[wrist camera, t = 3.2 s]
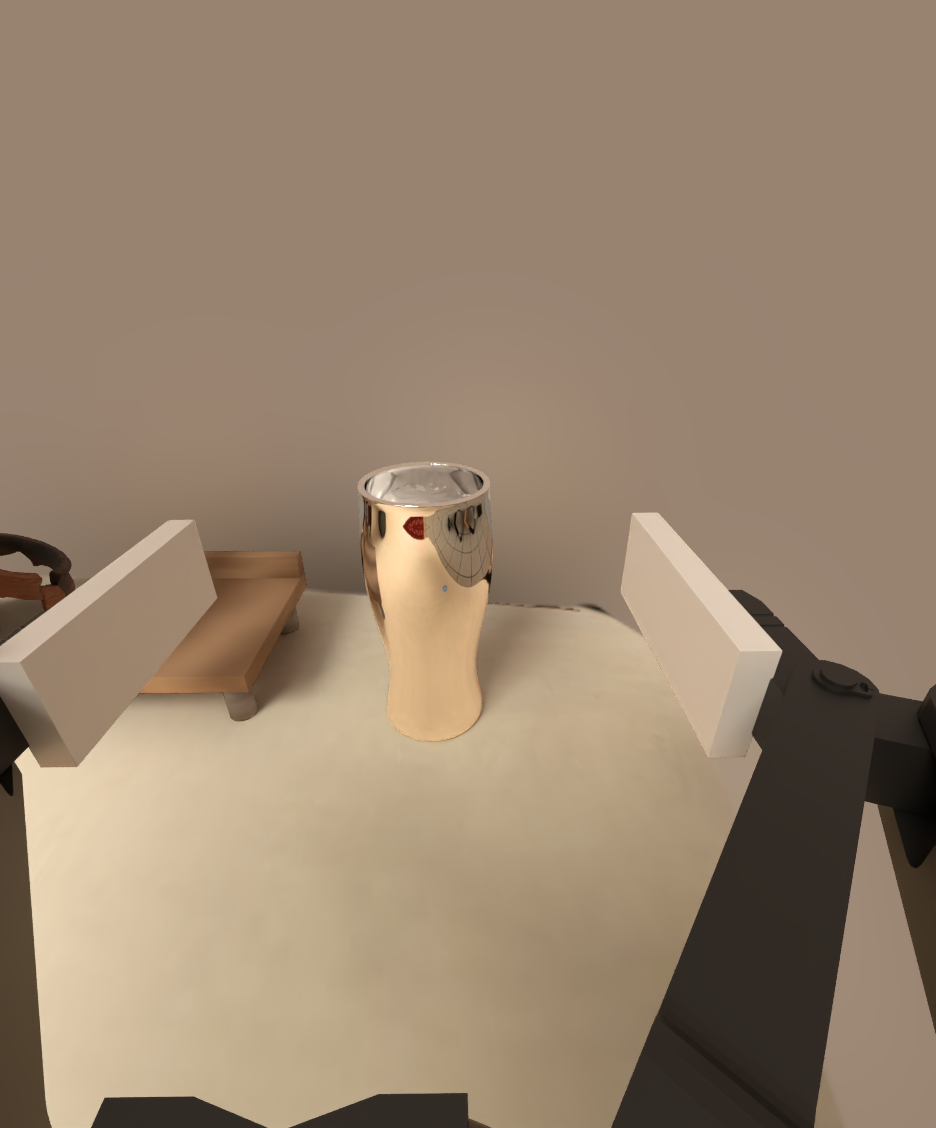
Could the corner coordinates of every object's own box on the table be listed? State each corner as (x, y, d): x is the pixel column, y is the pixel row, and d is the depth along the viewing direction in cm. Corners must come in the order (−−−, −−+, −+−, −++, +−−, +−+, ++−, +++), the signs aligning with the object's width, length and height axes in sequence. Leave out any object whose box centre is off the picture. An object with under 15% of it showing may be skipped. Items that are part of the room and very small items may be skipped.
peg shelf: (43, 731, 30) (-2, 652, 27) (152, 617, 41) (128, 551, 38) (259, 729, 30) (237, 650, 27) (312, 616, 41) (300, 550, 38)
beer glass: (501, 681, 34) (509, 466, 27) (469, 761, 28) (469, 515, 21) (407, 660, 36) (391, 455, 29) (359, 732, 30) (324, 497, 23)
